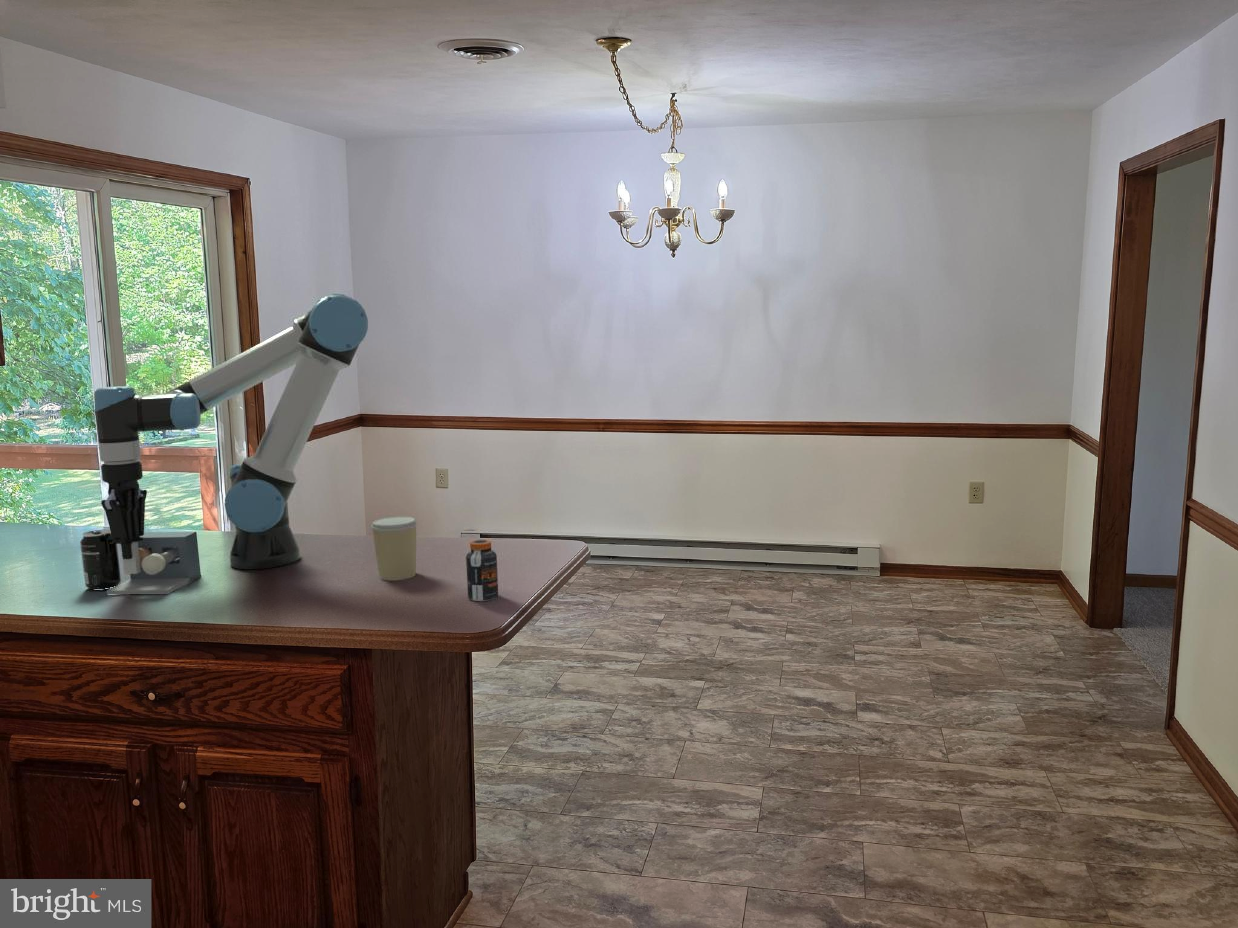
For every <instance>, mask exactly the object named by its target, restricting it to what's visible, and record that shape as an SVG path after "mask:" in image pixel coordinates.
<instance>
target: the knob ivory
mask: <svg viewBox="0 0 1238 928" xmlns="http://www.w3.org/2000/svg"><path fill="white" fill-rule="evenodd" d="M178 558H179V549H178V547H174V548H172V549H170V550H168V551H166V552H164V553H162V554H157V553H154V554H151V555H149V556H147V557H145V558H144V559H143V560H142V568H143V570H144V571H145V572H146V573H147V574H150V575H154V574H156V573H158V572H160V571H162V570H163V569H164V568H165V565H166V564H168V563H170V562H172V561H174V560H176V559H178Z"/></svg>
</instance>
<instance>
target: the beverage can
mask: <svg viewBox="0 0 1238 928" xmlns="http://www.w3.org/2000/svg"><path fill="white" fill-rule="evenodd" d="M82 536H83V537H82V539H81V540H80V541H79V544H80V545H79V546H80V552H81V561H82V570H83V577H84V584H85V585H84V586H85V587H86V588H88V589H90V590H91V589H105V588H110V587H114V586H117V585H119V584H121V582H122V576H121V575H122V574H121V566H120V564H121V563H120V557H119V550H118V549H119V548H118V547H119V546H118V544H116V543H114V542H113V538H112V535H111V531H110V529H107V528H106V529H95V530H89V531H86V532H83V533H82Z"/></svg>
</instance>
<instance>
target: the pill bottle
mask: <svg viewBox="0 0 1238 928" xmlns="http://www.w3.org/2000/svg"><path fill="white" fill-rule="evenodd" d="M469 544H470V545H469V546H470V551H469V552H468V553H466V556H465V562H466V563H465V564H466V565H465V566H466V580H467V581H466V583H467V584H466V585H467V586H466V587H467V598H468V600H471V601H474V602H486V601H493V600H495V599H497V598H498V597H499V581H498V579H499V578H498V559H497V556H498V555H497V553H496V552H495V550H493V549H492V541H491V540H490V539H476V540H475V539H474V540H471V541H470V543H469Z"/></svg>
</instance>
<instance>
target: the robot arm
mask: <svg viewBox="0 0 1238 928" xmlns="http://www.w3.org/2000/svg"><path fill="white" fill-rule="evenodd" d="M368 328H369V321H368V316H367V313H366V311H365V308H363V306H362V304H361V303H359V302H358V301H357V300H355V298H352V297H351V296H348V295H345V294H340V293H332V294H329V295H326V296H324V297H322V298H320V299H319V300H318V301H317V302H316V303H315V304H314V305H313V307H312V308H311V309H310V310H309V311H307V312H306V313H305V314H303V315H301V316H299V317H297V318H296V319H294V321H293V325H292V326H291V327H287V329H284V330H283V331H281V332H279V333H277V334H275V335H273V336H271V337H269V338H268V339H266V340H264V341H262V342H260V343H258V344H255V346H252V347H250V348H248V349H247V350H245V351H243V352H241V353H239V354H237V355H236V356H233V357H232V358H230V359H228V360H226V361H224V362H222V363H221V364H219V365H217V366H214V367H212V368H211V369H209V370H207V371H206V372H203V373H201V374H199V375H197V376H195V377H194V378H192V379H190V380H188V381H186V382H184V383H182V384H181V385H178V386H177V387H175V388H173V389H170V390H168V391H166V392H165V393H164V394H163V393H161V394H149V395H142V394H141V395H140V394H136V392H135V388H134V387H133V386H130V385H129V386H127V385H125V386H123V385H120V386H119V385H118V386H105V387H104V386H103V387H99V388H97V389H96V390H95V391H94V393H93V395H94V396H93V398H94V410H93V412H94V417H95V425H96V432H97V440H98V441H97V442H98V450H99V456H100V457H99V458H100V459H99V460H100V462H102V464H101V465H100V470H101V472H100V473H101V480H102V481H103V482H104V483H107V485H108V490H107V494H108V497H107V499H102V500H101V502H100V504H101V506H102V508H103V510H104V511H105V512H104V513H105V515H106V519H107V523H108V527H109V530H110V531H111V535H112V538H113V542H114V543H116V544H117V545H118V544H119V545H120V546H121V548H120V549H121V555H122V562H123V563H122V564H123V571H124V575H125V574H126V575H129V574H137V573H139V572H141V570H140V560H139V549H138V541H142V540H143V537H140V536H143V535H144V533H145V516H146V515H145V514H146V512H145V511H146V498H147V494H148V491H147V489H142V488H140V484H139V480H142V478H143V477H144V475H143V474H144V473H143V465H142V464H143V463H142V462H141V461H140V459H141V458H142V454H141V453H142V452H141V446H140V445H141V444H140V436H139V432H143V433H144V432H156V431H157V432H159V431H160V432H161V431H163V432H164V431H185V430H192V429H193V430H194V429H197V428H198V427H200V424H201V415H202V414H204V413H206V412H208V411H210V410H211V409H213V408H215V407H217V406H218V405H221V404H222V403H225V402H226V401H228V400H230V399H232V398H234V397H236V396H238V395H240V394H241V393H244V392H246V391H247V390H249V389H251V388H252V387H255V386H256V385H259V384H260V383H262V382H264V381H266V380H268V379H270V378H272V377H274V376H276V375H277V374H279V373H281V372H283V371H284V370H285V371H286V369H288V368H290V367H293V366H294V365H295V366H294V369H293V370H292V372H291V374H290V377H289V379H288V381H287V383H286V385H285V387H284V389H283V392H282V394H281V396H280V399H279V401H278V403H277V405H276V407H275V410H274V412H273V414H272V416H271V418H270V420H269V422H268V423H267V427H266V428H265V432H264V433H263V435H262V437H261V438H260V439H261V440H260V441H259V444H258V446H257V448H256V451H255V452H254V454H253V455H251V456H249V457H246V458H244V459H243V461H242V463H241V464H233V465H232V466H231V467H230V473H229V480H230V482H231V483H230V484H231V487H230V489H229V490H228V491H227V493H226V495H225V497H224V510H225V512H226V513H225V514H226V516H227V518H228V520H229V521H230V522H231V523H232V524H233V525H234V526H235V535H234V537H233V543H232V545H231V550H230V555H229V560H230V566H231V567H232V568H235V569H239V570H260V569H271V568H277V567H283V566H286V565H290V564H293V563H295V562H297V561H299V560H300V558H301V555H300V553H301V551H300V547H299V545H298V543H297V540H296V537H295V535H294V533H293V531H292V529H291V527H290V519H289V517H290V516H289V508H288V507H289V506H288V501H289V498H290V496H291V494H292V492H293V490H294V487H295V485H296V483H297V478H296V475H295V473H294V470H295V468H296V466H297V464H298V461H299V459H300V457H301V455H302V452H303V451H304V448H305V445H306V444H307V441H308V439H309V437H310V435H311V433H312V430H313V429H314V426H315V424H316V422H317V420H318V418H319V415H320V413H321V411H322V409H323V407H324V404H325V403H326V400H327V398H328V396H329V394H330V392H331V390H332V387H333V385H334V383H335V381H336V379H337V376H338V374H339V372H340V371H342V370H343V369H346V368H348V367H350V365H351V364H352V361H353V360H354V357H355V355H356V353H357V350H358V348H359V346H360V344H361V343H362V342H363V341H364V340H365V337H366V335H367V332H368V330H369V329H368Z"/></svg>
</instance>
